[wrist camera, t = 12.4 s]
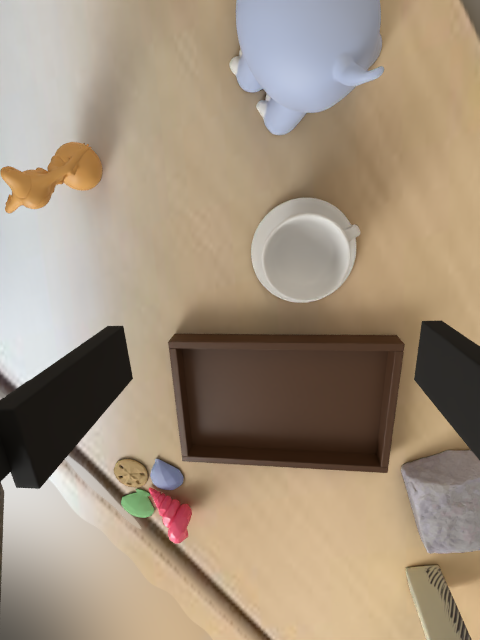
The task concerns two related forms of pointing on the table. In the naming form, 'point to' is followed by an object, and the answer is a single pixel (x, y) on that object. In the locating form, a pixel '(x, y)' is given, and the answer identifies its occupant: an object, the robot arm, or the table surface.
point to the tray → (287, 399)
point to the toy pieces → (155, 495)
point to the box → (435, 604)
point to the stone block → (446, 500)
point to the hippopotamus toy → (305, 54)
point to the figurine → (53, 176)
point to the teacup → (304, 249)
